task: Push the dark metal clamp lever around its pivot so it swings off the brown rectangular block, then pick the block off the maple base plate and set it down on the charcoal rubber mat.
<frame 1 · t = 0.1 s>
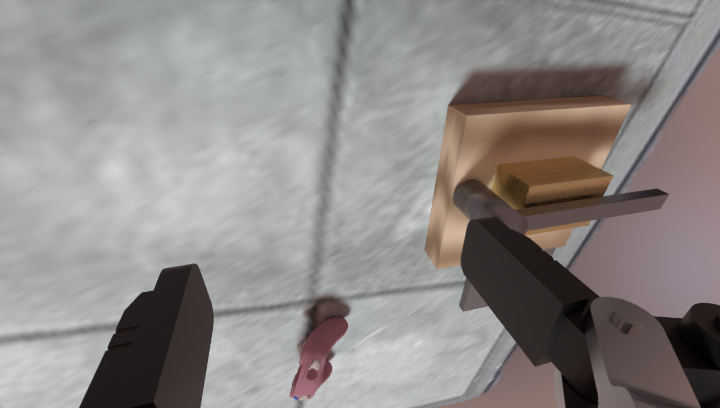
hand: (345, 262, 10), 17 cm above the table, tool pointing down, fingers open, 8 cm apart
base plate: (506, 179, 33), on the table
brown rectangular block: (529, 184, 30), point 3 cm above the table, touching base plate
clamp lever: (561, 201, 27), point 6 cm above the table, hinge at 0.0°
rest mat: (504, 271, 41), on the table
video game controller: (314, 339, 39), on the table
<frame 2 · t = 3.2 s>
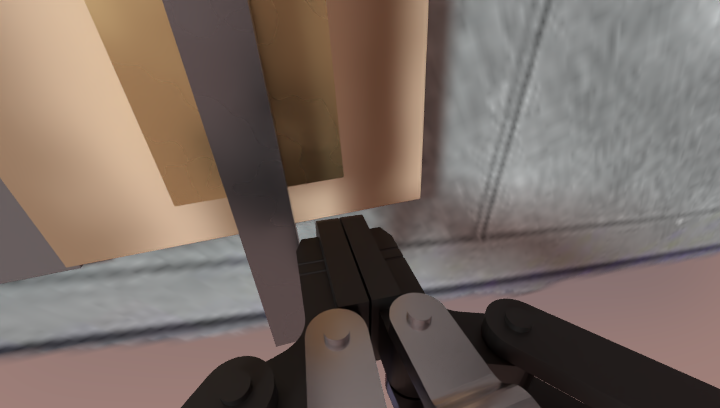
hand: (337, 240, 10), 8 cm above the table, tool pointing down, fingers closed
base plate: (217, 32, 13), on the table
brown rectangular block: (237, 34, 11), point 3 cm above the table, touching base plate
clamp lever: (236, 72, 9), point 6 cm above the table, hinge at 0.0°, touching gripper
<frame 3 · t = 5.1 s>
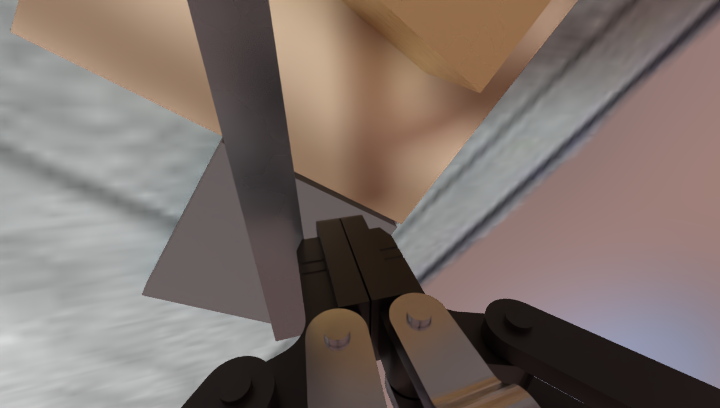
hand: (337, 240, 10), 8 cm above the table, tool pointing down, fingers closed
clamp lever: (247, 67, 9), point 6 cm above the table, hinge at -53.0°, touching gripper
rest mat: (277, 248, 19), on the table
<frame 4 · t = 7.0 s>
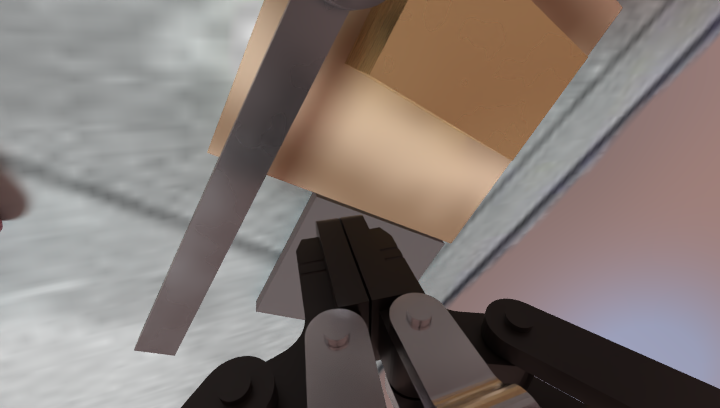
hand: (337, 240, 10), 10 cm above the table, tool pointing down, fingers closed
base plate: (405, 68, 18), on the table
brown rectangular block: (438, 56, 16), point 3 cm above the table, touching base plate
clamp lever: (243, 152, 12), point 6 cm above the table, hinge at -92.3°
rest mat: (350, 267, 25), on the table
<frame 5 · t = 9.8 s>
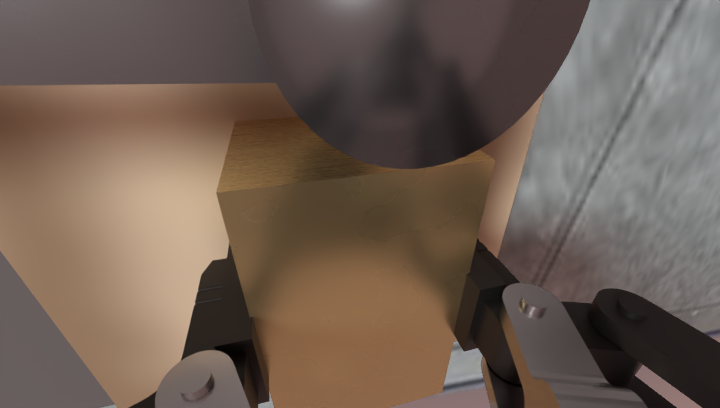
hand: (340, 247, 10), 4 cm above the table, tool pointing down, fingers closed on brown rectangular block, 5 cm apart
base plate: (298, 193, 13), on the table
brown rectangular block: (335, 231, 11), point 3 cm above the table, touching base plate, gripper
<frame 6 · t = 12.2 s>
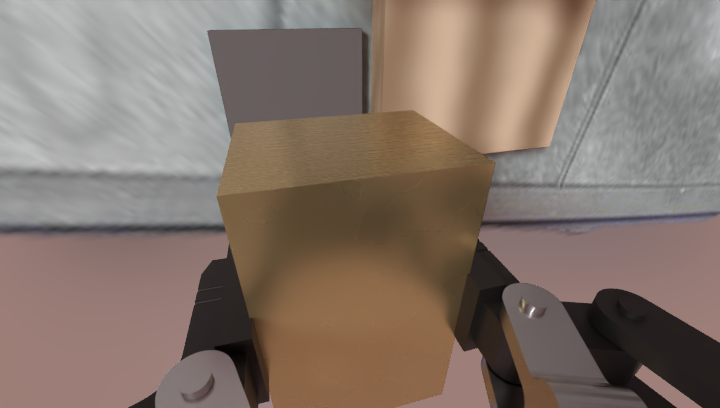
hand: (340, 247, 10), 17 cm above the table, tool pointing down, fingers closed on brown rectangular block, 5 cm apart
base plate: (467, 47, 26), on the table
brown rectangular block: (335, 232, 11), point 17 cm above the table, touching gripper
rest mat: (296, 110, 25), on the table
when the fingers open (3 cm above the table, at t = 14.7 s): brown rectangular block drops 1 cm, resting on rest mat.
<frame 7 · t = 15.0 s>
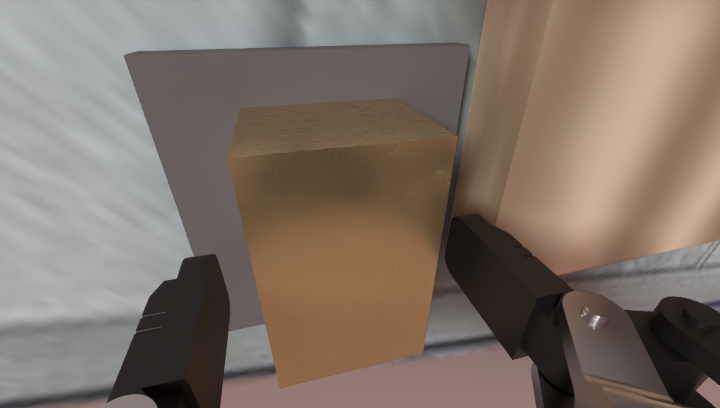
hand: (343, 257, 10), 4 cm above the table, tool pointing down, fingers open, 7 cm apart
base plate: (636, 75, 14), on the table
brown rectangular block: (329, 209, 12), point 1 cm above the table, touching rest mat
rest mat: (323, 197, 13), on the table
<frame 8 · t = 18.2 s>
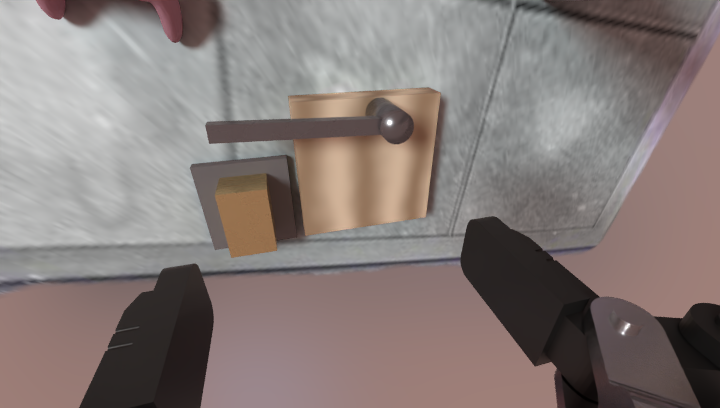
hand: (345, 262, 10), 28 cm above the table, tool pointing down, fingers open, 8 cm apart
base plate: (361, 159, 39), on the table
brown rectangular block: (249, 206, 37), point 1 cm above the table, touching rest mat
clamp lever: (313, 122, 29), point 6 cm above the table, hinge at -92.3°
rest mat: (249, 202, 38), on the table
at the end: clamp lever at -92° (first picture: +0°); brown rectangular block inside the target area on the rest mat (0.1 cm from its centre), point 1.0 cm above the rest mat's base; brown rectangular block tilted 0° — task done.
